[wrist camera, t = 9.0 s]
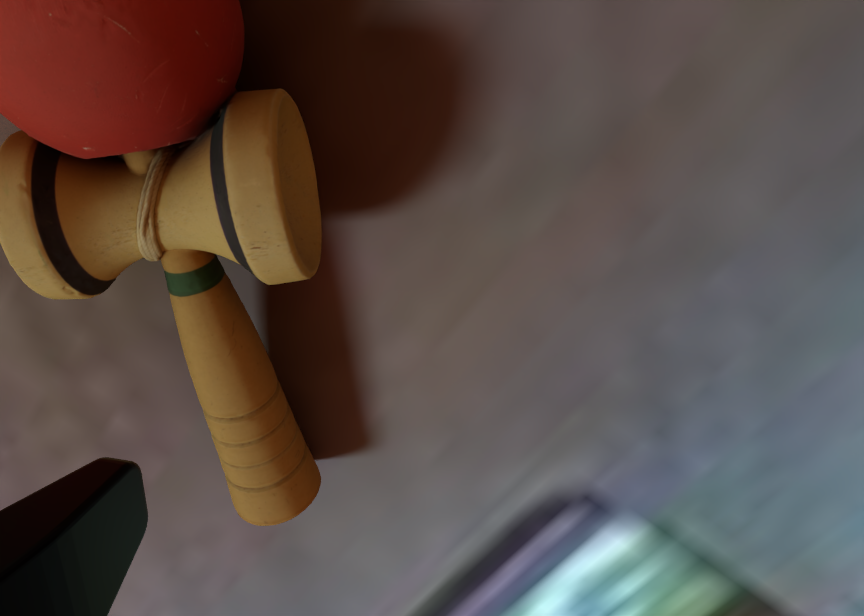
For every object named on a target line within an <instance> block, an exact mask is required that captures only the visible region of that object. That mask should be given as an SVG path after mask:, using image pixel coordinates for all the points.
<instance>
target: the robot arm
mask: <svg viewBox="0 0 864 616" xmlns="http://www.w3.org/2000/svg"><path fill="white" fill-rule="evenodd" d="M147 522H148V511H147V504H146V498H145V492H144V486H143V479H142V473H141V470H140V467H139V466H138V465H137V464H136V463H134V462H133V461H127V460H121V459H115V458H109V457H105V458H99V459H97V460H95V461H93V462H91V463H89V464H87V465H85V466H83V467H81V468H80V469H78V470H76V471H74V472H72V473H70V474H68V475H66V476H65V477H63V478H61V479H59V480H57V481H55V482H53V483H51V484H49V485H48V486H46V487H44V488H42V489H40V490H38V491H36V492H34V493H33V494H31V495H29V496H27V497H25V498H23V499H21V500H19V501H17V502H16V503H14V504H12V505H10V506H8V507H6V508H4V509H2V510H1V511H0V616H107V615H108V613H109V611H110V608H111V606H112V604H113V602H114V600H115V598H116V595H117V593H118V591H119V589H120V587H121V584H122V582H123V580H124V578H125V576H126V573H127V571H128V569H129V567H130V565H131V562H132V560H133V558H134V556H135V554H136V551H137V549H138V547H139V545H140V543H141V540H142V538H143V536H144V533H145V530H146V527H147Z"/></svg>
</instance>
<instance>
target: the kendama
mask: <svg viewBox="0 0 864 616" xmlns="http://www.w3.org/2000/svg"><path fill="white" fill-rule="evenodd" d="M243 54H244V21H243V15H242V10H241V6H240V2H239V0H0V113H1V114H2V115H3V116H4V117H6V118H7V119H8V120H9V121H11V122H12V123H13V124H14V125H16V126H17V127H18V128H19V129H21V131H18V132H16V133H14V134H12V135H10V136H9V137H8V138H7V139H6V140H5V142H4V143H3V144H2V145H1V147H0V243H1V245H2V248H3V250H4V252H5V254H6V257H7V258H8V260H9V262H10V265H11V266H12V267H13V268H14V270H15V272H16V273H17V274H18V276H19V277H20V278H21V279H22V280H23V282H24V283H25V284H26V285H27V286H28V287H29V288H31V289H32V290H34V291H35V292H36V293H38V294H40V295H42V296H44V297H47V298H52V299H86V298H92V297H94V296H97V295H99V294H101V293H103V292H104V291H105V290H107V289H108V288H109V287H110V285H111V284H112V283H113V282H114V281H115V280H116V277H117V276H118V275H119V274H120V273H121V272H122V271H123V270H124V269H126V268H127V267H128V266H129V265H131V264H132V263H134V262H135V261H137V260H139V259H141V258H145V259H147V260H149V261H158V260H161V262H162V265H163V268H164V270H165V271H164V273H165V277H166V281H167V286H168V290H169V294H170V299H171V303H172V308H173V312H174V316H175V320H176V324H177V328H178V332H179V336H180V340H181V344H182V348H183V351H184V355H185V358H186V362H187V365H188V368H189V371H190V375H191V378H192V380H193V383H194V387H195V390H196V392H197V396H198V398H199V401H200V404H201V406H202V408H203V411H204V415H205V418H206V421H207V424H208V426H209V429H210V431H211V434H212V438H213V441H214V444H215V447H216V449H217V452H218V455H219V458H220V462H221V465H222V468H223V470H224V472H225V477H226V480H227V484H228V488H229V491H230V494H231V498H232V501H233V504H234V507H235V509H236V510H237V512H238V514H239V516H240V517H241V518H242V519H244V520H245V521H247V522H249V523H251V524H254V525H259V526H269V525H276V524H280V523H283V522H285V521H288V520H290V519H292V518H294V517H296V516H297V515H299V514H300V513H301V512H302V511H304V510H305V509H306V508H307V507H308V506H309V505H310V504H311V503H312V501H313V500H314V498H315V497H316V495H317V493H318V491H319V488H320V484H321V476H320V472H319V469H318V467H317V465H316V463H315V461H314V459H313V456H312V454H311V452H310V450H309V448H308V446H307V444H306V442H305V441H304V438H303V435H302V433H301V431H300V429H299V427H298V425H297V423H296V421H295V418H294V416H293V413H292V411H291V409H290V406H289V404H288V402H287V400H286V397H285V395H284V392H283V390H282V388H281V385H280V383H279V381H278V379H277V376H276V374H275V371H274V368H273V366H272V364H271V361H270V359H269V357H268V354H267V352H266V350H265V348H264V345H263V343H262V341H261V339H260V337H259V334H258V332H257V330H256V328H255V326H254V324H253V322H252V320H251V318H250V316H249V315H248V313H247V311H246V309H245V307H244V305H243V303H242V302H241V300H240V298H239V296H238V294H237V292H236V291H235V289H234V287H233V285H232V283H231V281H230V279H229V277H228V276H227V275H226V273H225V271H224V269H223V267H222V265H221V263H220V261H219V260H218V258H217V256H216V254H217V255H220V256H223V257H225V258H228V259H230V260H232V261H234V262H236V263H238V264H240V265H242V266H243V267H244V268H245V269H247V270H249V271H250V272H251V273H252V274H254V275H255V276H256V277H257V278H258V279H259V280H261V281H262V282H264V283H266V284H268V285H274V284H281V283H288V282H294V281H300V280H306V279H310V278H311V277H312V276H314V275H315V273H316V272H317V269H318V267H319V263H320V258H321V248H322V230H321V226H322V225H321V211H320V205H319V197H318V189H317V180H316V173H315V167H314V162H313V157H312V152H311V148H310V144H309V139H308V135H307V133H306V128H305V125H304V122H303V119H302V117H301V115H300V112H299V110H298V107H297V105H296V104H295V102H294V101H293V99H292V98H291V97H290V95H289V94H288V93H287V92H286V91H285V90H283V89H280V88H279V89H267V90H254V91H243V92H238V91H237V89H236V88H235V86H236V83H237V80H238V77H239V74H240V71H241V67H242V61H243Z"/></svg>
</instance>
